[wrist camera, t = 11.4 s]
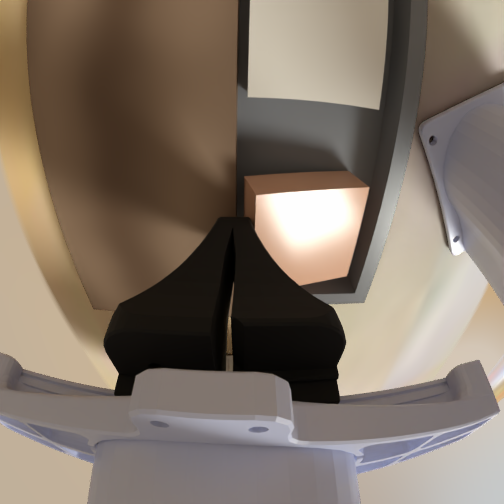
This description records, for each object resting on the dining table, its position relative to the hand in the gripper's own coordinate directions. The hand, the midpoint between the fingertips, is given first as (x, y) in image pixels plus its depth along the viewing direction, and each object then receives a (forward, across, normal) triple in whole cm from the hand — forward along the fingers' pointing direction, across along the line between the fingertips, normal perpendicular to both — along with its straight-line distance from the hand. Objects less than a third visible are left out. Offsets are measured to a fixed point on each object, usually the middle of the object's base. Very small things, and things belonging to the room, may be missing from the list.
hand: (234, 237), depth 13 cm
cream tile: (+2, -3, -8) cm, 9 cm away
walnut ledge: (+3, +4, -4) cm, 7 cm away
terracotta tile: (+2, -3, 0) cm, 3 cm away
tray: (+3, -4, -4) cm, 6 cm away
